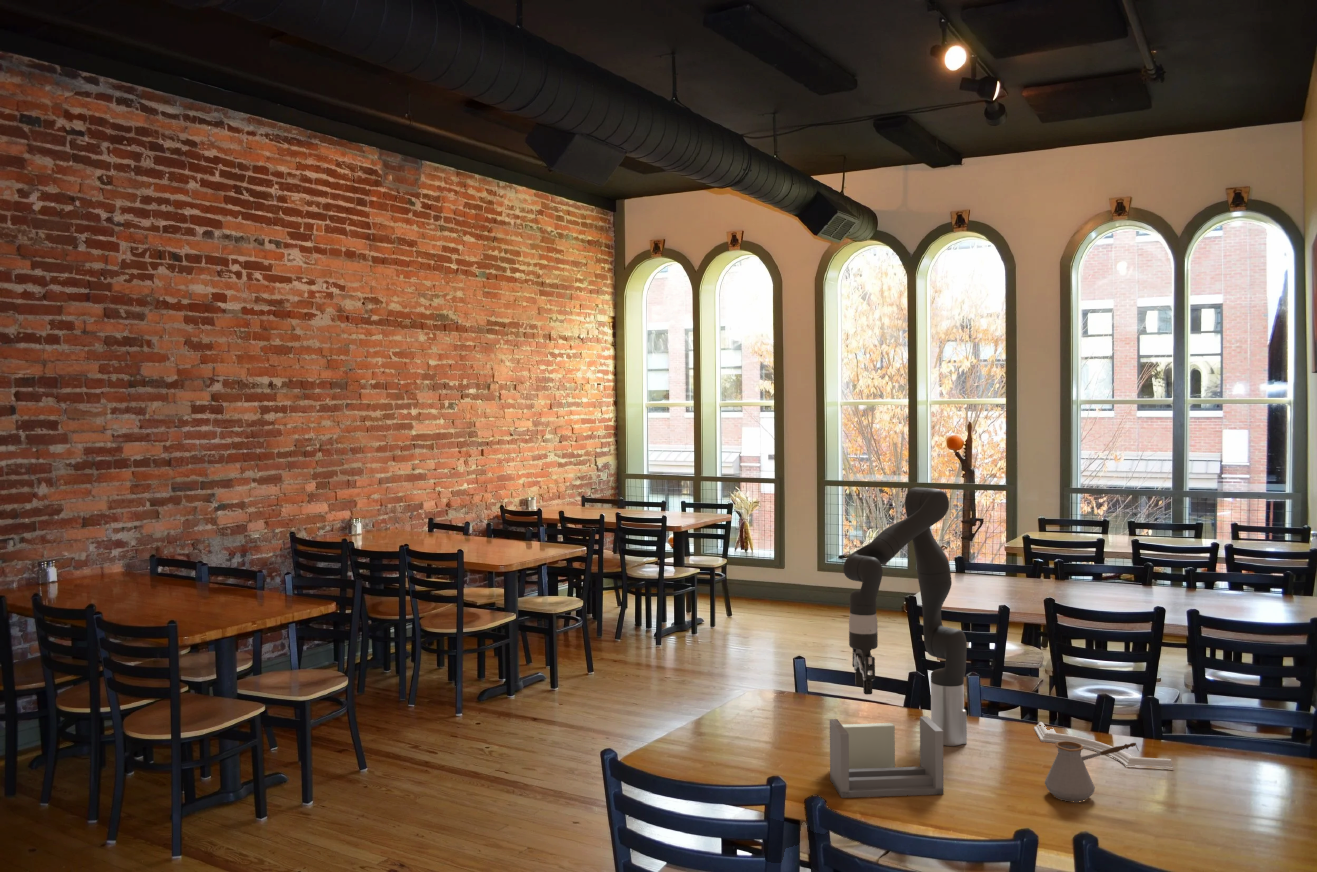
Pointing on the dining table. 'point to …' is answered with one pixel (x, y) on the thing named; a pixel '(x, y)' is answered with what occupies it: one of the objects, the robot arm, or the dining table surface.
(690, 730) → the dining table surface
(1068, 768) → the coffee pot
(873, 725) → the door panel
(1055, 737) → the molding
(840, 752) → the grey rack
